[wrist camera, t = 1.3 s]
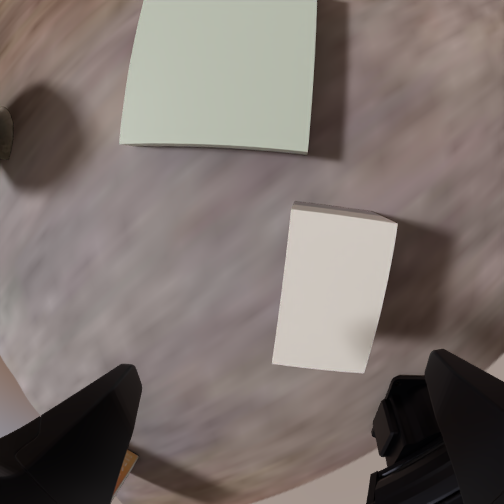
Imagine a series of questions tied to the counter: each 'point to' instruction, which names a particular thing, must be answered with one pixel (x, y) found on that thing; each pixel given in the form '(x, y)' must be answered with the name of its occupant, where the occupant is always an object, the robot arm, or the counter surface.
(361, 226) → the block
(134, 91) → the stand
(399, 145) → the counter surface
